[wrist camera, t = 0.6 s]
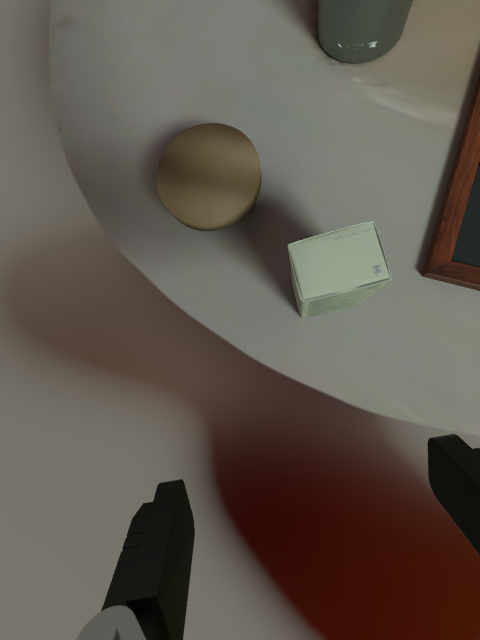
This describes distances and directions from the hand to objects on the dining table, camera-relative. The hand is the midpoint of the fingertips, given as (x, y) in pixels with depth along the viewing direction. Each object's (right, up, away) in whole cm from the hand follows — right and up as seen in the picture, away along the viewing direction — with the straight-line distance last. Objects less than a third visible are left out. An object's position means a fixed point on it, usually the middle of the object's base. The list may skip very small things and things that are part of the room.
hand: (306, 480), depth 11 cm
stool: (-4, +18, +26) cm, 32 cm away
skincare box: (+6, +8, +24) cm, 26 cm away
